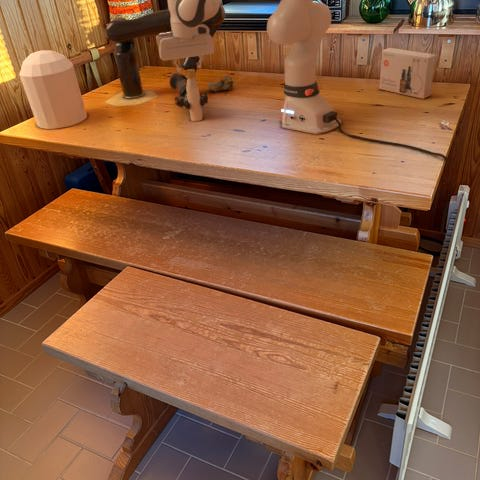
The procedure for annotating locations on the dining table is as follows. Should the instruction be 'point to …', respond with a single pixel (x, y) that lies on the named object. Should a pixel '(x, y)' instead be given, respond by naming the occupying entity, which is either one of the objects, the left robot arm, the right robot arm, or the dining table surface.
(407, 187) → the dining table surface
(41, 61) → the container
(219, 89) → the rock
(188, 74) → the cap
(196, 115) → the bottle
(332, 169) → the dining table surface
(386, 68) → the skincare box
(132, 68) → the left robot arm
